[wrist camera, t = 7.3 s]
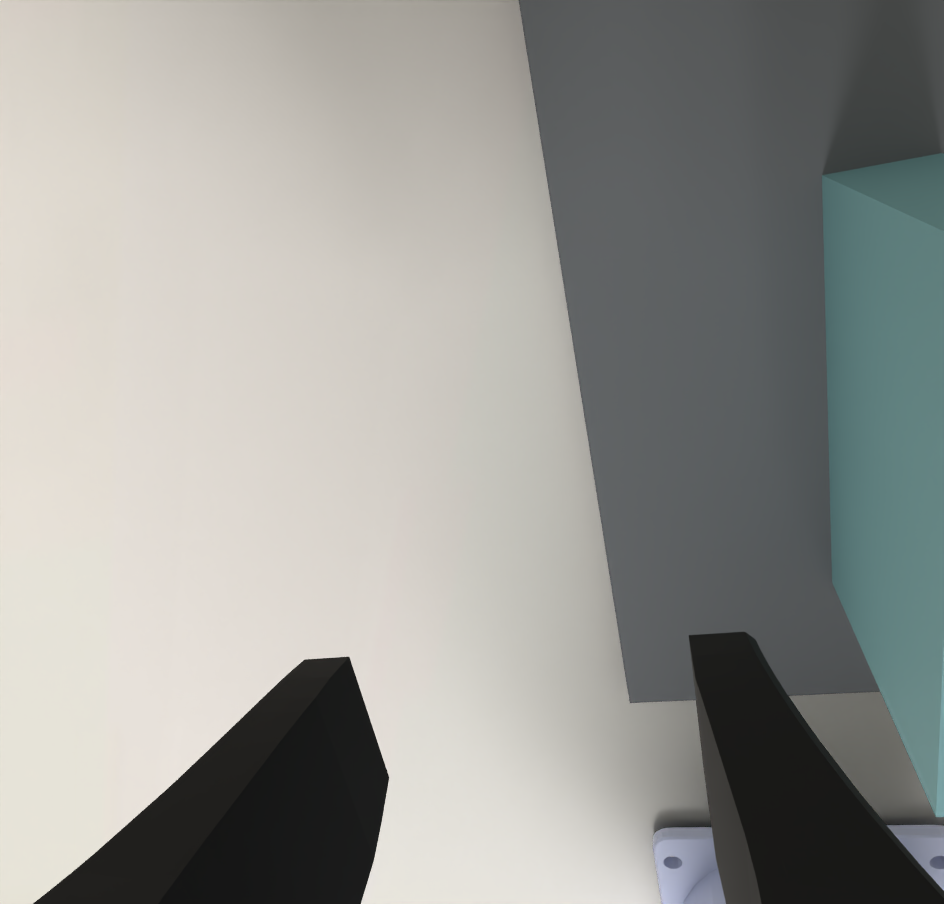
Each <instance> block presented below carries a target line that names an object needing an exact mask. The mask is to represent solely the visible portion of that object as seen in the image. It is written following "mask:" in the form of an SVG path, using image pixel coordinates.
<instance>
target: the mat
mask: <svg viewBox="0 0 944 904" xmlns="http://www.w3.org/2000/svg"><path fill="white" fill-rule="evenodd" d="M519 4H520V11H521V17H522V23H523V30H524V36H525V42H526V48H527V55H528V61H529V67H530V74H531V80H532V86H533V93H534V99H535V105H536V112H537V118H538V124H539V131H540V137H541V143H542V150H543V156H544V162H545V169H546V175H547V181H548V188H549V194H550V200H551V207H552V213H553V219H554V226H555V232H556V238H557V245H558V251H559V257H560V264H561V270H562V276H563V283H564V289H565V295H566V302H567V308H568V314H569V321H570V327H571V333H572V340H573V346H574V352H575V359H576V365H577V371H578V378H579V384H580V390H581V397H582V403H583V409H584V416H585V422H586V428H587V435H588V441H589V447H590V453H591V460H592V466H593V472H594V479H595V485H596V491H597V498H598V504H599V510H600V517H601V523H602V529H603V536H604V542H605V548H606V555H607V561H608V567H609V574H610V580H611V586H612V593H613V599H614V605H615V612H616V618H617V624H618V631H619V637H620V643H621V650H622V656H623V662H624V669H625V675H626V681H627V688H628V694H629V700H630V703H640V702H662V701H683V700H696V696H695V687H694V678H693V670H692V661H691V652H690V644H689V635H699V634H714V633H730V632H746V633H748V634H749V635H750V636H752V637H753V638H754V639H756V641H757V643H758V645H759V648H760V650H761V651H762V653H763V655H764V657H765V659H766V660H767V662H768V664H769V666H770V668H771V669H772V671H773V673H774V674H775V676H776V678H777V679H778V681H779V682H780V684H781V685H782V687H783V689H784V690H785V692H786V693H787V695H788V696H792V695H814V694H836V693H858V692H880V690H879V687H878V685H877V683H876V681H875V678H874V676H873V674H872V672H871V669H870V667H869V665H868V662H867V660H866V658H865V656H864V653H863V651H862V649H861V647H860V644H859V642H858V640H857V638H856V635H855V633H854V631H853V629H852V626H851V624H850V622H849V619H848V617H847V615H846V613H845V610H844V608H843V606H842V604H841V601H840V599H839V597H838V595H837V592H836V590H835V588H834V586H833V583H832V559H831V519H830V479H829V439H828V399H827V359H826V319H825V279H824V238H823V198H822V175H826V174H831V173H837V172H842V171H848V170H853V169H858V168H864V167H869V166H875V165H880V164H885V163H891V162H896V161H902V160H907V159H912V158H918V157H923V156H929V155H934V154H939V153H944V0H519Z"/></svg>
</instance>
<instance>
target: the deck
mask: <svg viewBox="0 0 944 904" xmlns="http://www.w3.org/2000/svg"><path fill="white" fill-rule="evenodd" d="M822 198H823V238H824V279H825V319H826V359H827V399H828V439H829V479H830V519H831V559H832V583H833V586H834V588H835V590H836V592H837V595H838V597H839V599H840V601H841V604H842V606H843V608H844V610H845V613H846V615H847V617H848V619H849V622H850V624H851V626H852V629H853V631H854V633H855V635H856V638H857V640H858V642H859V644H860V647H861V649H862V651H863V653H864V656H865V658H866V660H867V662H868V665H869V667H870V669H871V672H872V674H873V676H874V678H875V681H876V683H877V685H878V687H879V690H880V692H881V694H882V696H883V699H884V701H885V703H886V705H887V708H888V710H889V712H890V714H891V717H892V719H893V721H894V724H895V726H896V728H897V730H898V733H899V735H900V737H901V739H902V742H903V744H904V746H905V748H906V751H907V753H908V755H909V757H910V760H911V762H912V764H913V766H914V769H915V771H916V773H917V776H918V778H919V780H920V782H921V785H922V787H923V789H924V791H925V794H926V796H927V798H928V800H929V803H930V805H931V807H932V809H933V812H934V814H935V816H936V817H944V153H939V154H934V155H929V156H923V157H918V158H912V159H907V160H902V161H896V162H891V163H885V164H880V165H875V166H869V167H864V168H858V169H853V170H848V171H842V172H837V173H831V174H826V175H822Z"/></svg>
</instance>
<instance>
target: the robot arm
mask: <svg viewBox="0 0 944 904" xmlns="http://www.w3.org/2000/svg"><path fill="white" fill-rule="evenodd" d="M689 644H690V652H691V661H692V670H693V678H694V687H695V696H696V704H697V713H698V722H699V731H700V739H701V748H702V757H703V765H704V773H705V781H706V788H707V796H708V804H709V811H710V819H711V826H712V827H671V828H662V829H660V830H658V831H656V833H655V834H654V835H653V851H654V858H655V864H656V870H657V877H658V883H659V889H660V896H661V902H662V904H944V826H942V825H886V824H885V823H884V822H883V821H882V820H881V818H880V817H879V816H878V815H877V813H876V812H875V811H874V810H873V809H872V807H871V806H870V805H869V804H868V802H867V801H866V800H865V799H864V798H863V796H862V795H861V794H860V793H859V791H858V790H857V789H856V788H855V786H854V785H853V784H852V782H851V781H850V780H849V778H848V777H847V776H846V775H845V773H844V772H843V771H842V769H841V768H840V767H839V765H838V764H837V763H836V762H835V760H834V759H833V758H832V756H831V755H830V754H829V752H828V751H827V750H826V748H825V747H824V746H823V745H822V743H821V742H820V741H819V739H818V738H817V736H816V735H815V734H814V732H813V731H812V730H811V728H810V727H809V725H808V724H807V723H806V721H805V720H804V718H803V717H802V715H801V714H800V712H799V711H798V709H797V708H796V707H795V705H794V704H793V702H792V701H791V699H790V698H789V696H788V695H787V693H786V692H785V690H784V689H783V687H782V685H781V684H780V682H779V681H778V679H777V678H776V676H775V674H774V673H773V671H772V669H771V668H770V666H769V664H768V662H767V660H766V659H765V657H764V655H763V653H762V651H761V650H760V648H759V645H758V643H757V641H756V639H754V638H753V637H752V636H750V635H749V634H748V633H746V632H730V633H714V634H699V635H689ZM388 781H389V776H388V773H387V770H386V767H385V764H384V761H383V758H382V755H381V752H380V749H379V746H378V743H377V740H376V737H375V734H374V731H373V728H372V725H371V722H370V719H369V715H368V712H367V709H366V706H365V703H364V700H363V697H362V694H361V691H360V688H359V685H358V682H357V679H356V676H355V673H354V670H353V667H352V664H351V661H350V658H349V657H339V658H323V659H308V660H304V661H303V662H301V663H300V664H299V665H298V666H297V667H296V668H294V669H293V670H292V671H291V672H290V673H289V674H288V675H287V676H286V677H284V678H283V679H282V680H281V681H280V682H279V683H278V684H277V685H276V686H275V687H274V688H273V689H272V690H271V691H270V692H269V693H267V694H266V695H265V696H264V697H263V698H262V699H261V700H260V701H259V702H258V703H257V704H256V705H255V706H254V707H253V708H252V709H251V710H250V711H249V712H248V713H247V714H246V715H245V716H244V717H243V718H242V719H241V720H240V721H238V722H237V723H236V724H235V725H234V726H233V727H232V728H231V729H230V730H229V731H228V732H227V733H226V734H225V735H224V736H223V737H222V738H221V739H220V740H219V741H218V742H217V743H216V744H215V745H213V746H212V747H211V748H210V749H209V750H208V751H207V752H206V753H205V754H204V755H203V756H202V757H201V758H200V759H199V760H198V761H197V762H196V763H195V764H193V765H192V766H191V767H190V768H189V769H188V770H187V771H186V772H185V773H184V774H183V775H182V776H181V777H180V778H179V779H178V780H177V781H176V782H175V783H173V784H172V785H171V786H170V787H169V788H168V789H167V790H166V791H165V792H163V793H162V794H161V795H160V796H159V797H158V798H157V799H156V800H154V801H153V802H152V803H151V804H150V805H149V806H148V807H147V808H145V809H144V810H143V811H142V812H141V813H140V814H139V815H138V816H136V817H135V818H134V819H133V820H132V821H131V822H130V823H129V824H127V825H126V826H125V827H124V828H123V829H122V830H121V831H120V832H118V833H117V834H116V835H115V836H114V837H113V838H112V839H111V840H109V841H108V842H107V843H106V844H105V845H104V846H103V847H101V848H100V849H99V850H98V851H97V852H96V853H95V854H94V855H92V856H91V857H90V858H89V859H88V860H86V861H85V862H84V863H83V864H82V865H80V866H79V867H78V868H77V869H76V870H74V871H73V872H72V873H71V874H70V875H68V876H67V877H66V878H65V879H63V880H62V881H61V882H60V883H59V884H57V885H56V886H55V887H54V888H52V889H51V890H50V891H49V892H47V893H46V894H45V895H44V896H42V897H41V898H40V899H39V900H37V901H36V902H35V903H33V904H361V901H362V897H363V894H364V891H365V888H366V884H367V881H368V878H369V874H370V871H371V868H372V864H373V861H374V857H375V852H376V847H377V842H378V837H379V832H380V827H381V822H382V816H383V810H384V804H385V798H386V792H387V787H388ZM670 856H674V857H670Z"/></svg>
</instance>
